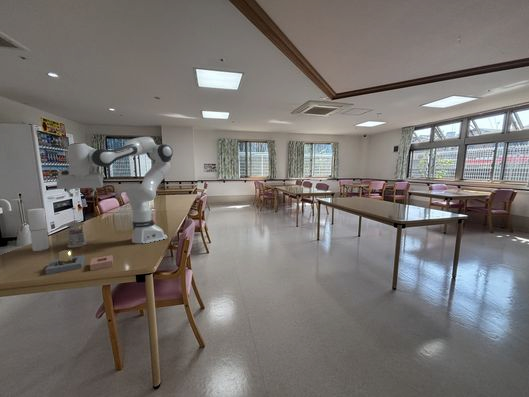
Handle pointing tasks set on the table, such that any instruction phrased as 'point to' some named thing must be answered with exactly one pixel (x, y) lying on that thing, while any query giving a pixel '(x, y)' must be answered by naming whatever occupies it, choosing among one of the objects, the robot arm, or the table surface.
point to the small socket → (101, 262)
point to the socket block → (55, 268)
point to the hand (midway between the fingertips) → (82, 196)
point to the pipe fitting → (66, 257)
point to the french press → (75, 235)
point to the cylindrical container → (38, 229)
